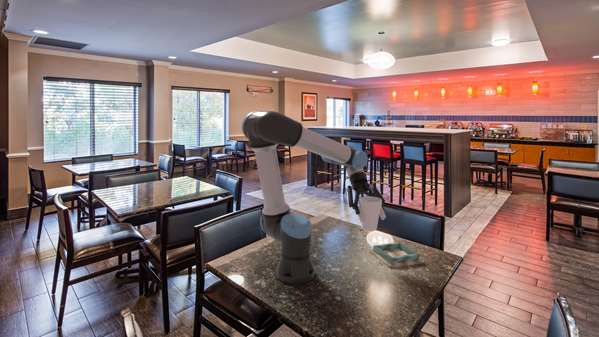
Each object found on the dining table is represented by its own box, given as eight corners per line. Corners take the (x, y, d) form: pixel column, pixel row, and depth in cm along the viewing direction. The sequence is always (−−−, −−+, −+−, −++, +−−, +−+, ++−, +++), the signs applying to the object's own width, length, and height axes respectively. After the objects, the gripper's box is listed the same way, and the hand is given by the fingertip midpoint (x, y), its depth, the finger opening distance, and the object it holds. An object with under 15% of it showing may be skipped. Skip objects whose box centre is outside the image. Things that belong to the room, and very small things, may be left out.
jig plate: (389, 268, 137) (390, 260, 136) (369, 251, 153) (369, 244, 152) (423, 262, 142) (424, 255, 141) (400, 247, 158) (400, 240, 157)
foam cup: (382, 232, 137) (384, 202, 134) (360, 232, 137) (361, 202, 134) (377, 224, 146) (378, 196, 144) (356, 224, 146) (357, 196, 144)
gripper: (374, 178, 156) (392, 221, 144) (332, 181, 149) (346, 226, 137) (381, 169, 150) (400, 213, 138) (337, 172, 143) (353, 218, 131)
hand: (373, 219), depth 138 cm, fingers closed on foam cup, 9 cm apart
